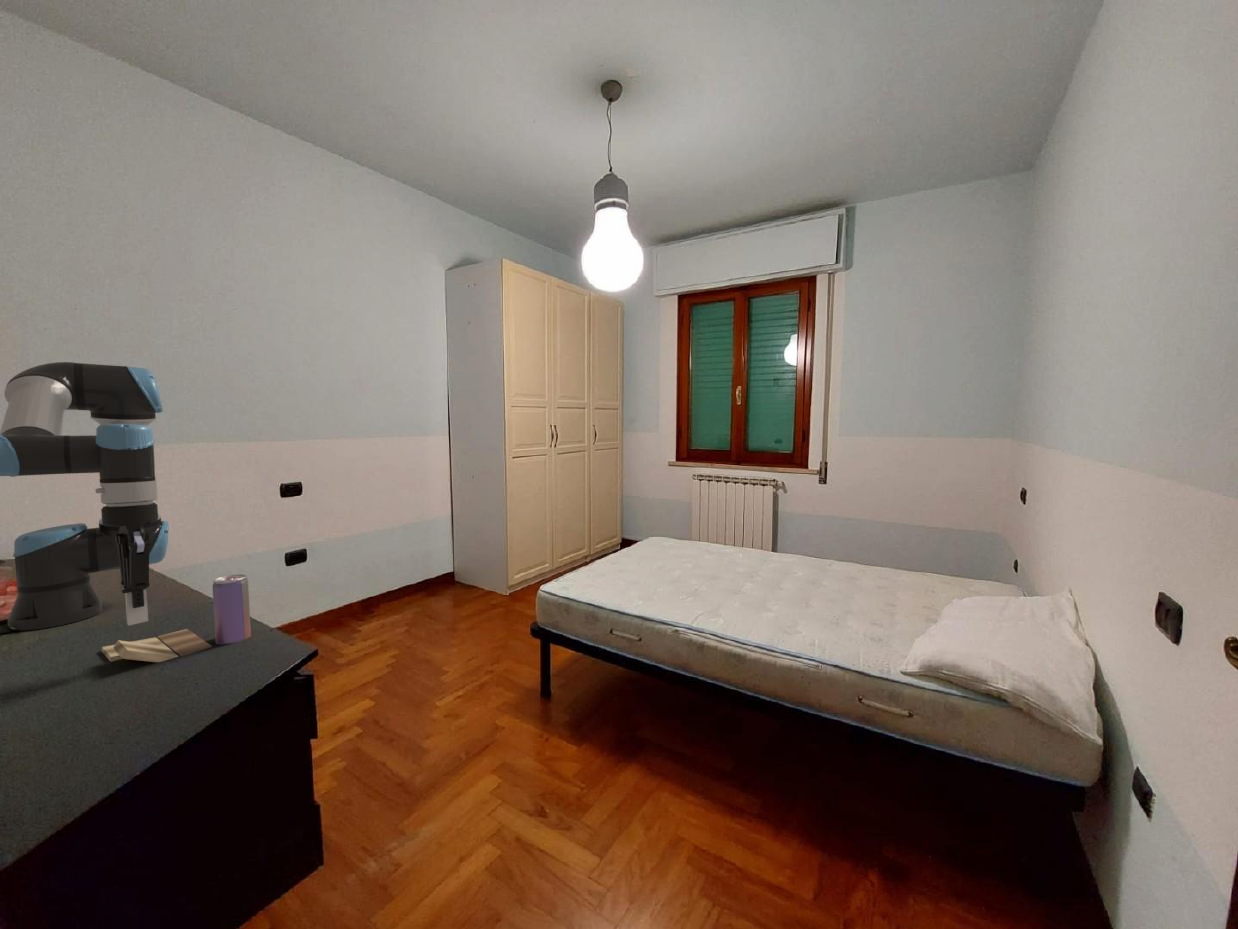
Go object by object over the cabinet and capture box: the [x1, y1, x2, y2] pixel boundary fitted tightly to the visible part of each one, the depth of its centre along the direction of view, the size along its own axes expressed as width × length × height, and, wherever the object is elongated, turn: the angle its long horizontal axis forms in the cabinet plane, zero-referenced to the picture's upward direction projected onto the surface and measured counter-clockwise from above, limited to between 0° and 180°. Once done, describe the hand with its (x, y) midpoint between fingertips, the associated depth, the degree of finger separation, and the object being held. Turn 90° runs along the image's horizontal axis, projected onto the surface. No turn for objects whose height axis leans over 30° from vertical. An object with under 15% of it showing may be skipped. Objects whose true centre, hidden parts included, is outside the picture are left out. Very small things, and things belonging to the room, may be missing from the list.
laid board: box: [156, 628, 213, 657], centre depth 100 cm, size 17×5×2 cm, turn 57°
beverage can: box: [212, 573, 252, 645], centre depth 101 cm, size 6×6×15 cm
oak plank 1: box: [101, 636, 167, 663], centre depth 97 cm, size 8×8×2 cm
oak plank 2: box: [113, 639, 179, 663], centre depth 92 cm, size 8×8×2 cm
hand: (137, 622), depth 91 cm, fingers closed
